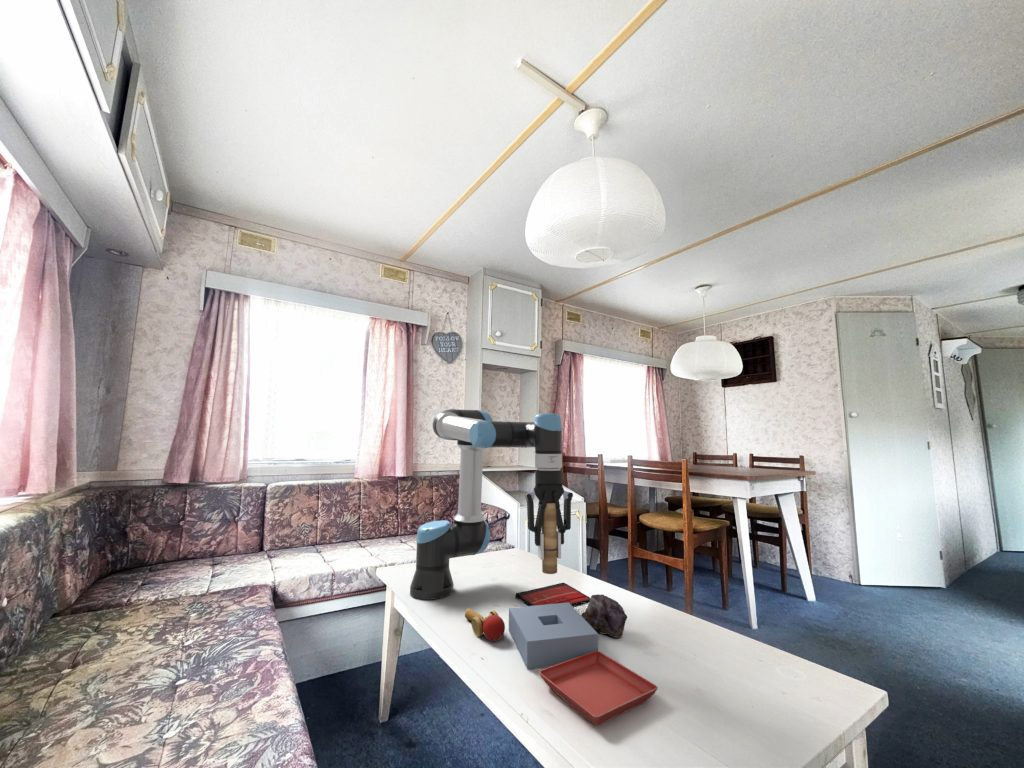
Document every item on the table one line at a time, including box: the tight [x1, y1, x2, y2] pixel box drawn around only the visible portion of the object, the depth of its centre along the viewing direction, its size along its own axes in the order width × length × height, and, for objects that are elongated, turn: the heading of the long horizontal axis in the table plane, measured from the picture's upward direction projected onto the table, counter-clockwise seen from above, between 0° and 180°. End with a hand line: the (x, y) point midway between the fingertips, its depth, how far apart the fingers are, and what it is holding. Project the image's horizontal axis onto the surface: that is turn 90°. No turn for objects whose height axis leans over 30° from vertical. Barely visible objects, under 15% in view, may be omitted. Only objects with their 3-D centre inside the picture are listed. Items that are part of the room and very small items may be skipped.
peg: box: [541, 503, 558, 575], centre depth 110 cm, size 4×4×18 cm
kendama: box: [464, 608, 506, 642], centre depth 115 cm, size 8×6×18 cm
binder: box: [515, 582, 591, 606], centre depth 137 cm, size 16×2×21 cm
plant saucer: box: [538, 650, 659, 726], centre depth 86 cm, size 18×18×3 cm
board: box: [508, 602, 599, 670], centre depth 107 cm, size 20×18×6 cm
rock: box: [580, 593, 628, 639], centre depth 115 cm, size 12×9×10 cm
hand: (549, 557), depth 110 cm, fingers closed on peg, 4 cm apart
